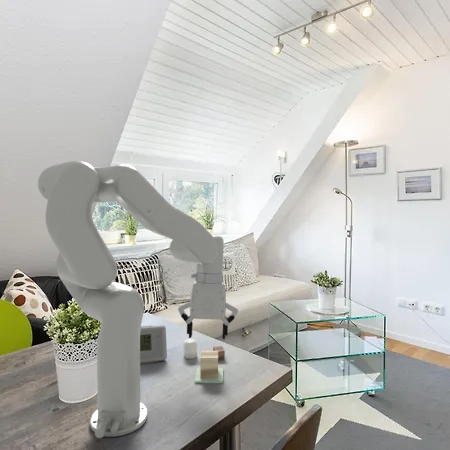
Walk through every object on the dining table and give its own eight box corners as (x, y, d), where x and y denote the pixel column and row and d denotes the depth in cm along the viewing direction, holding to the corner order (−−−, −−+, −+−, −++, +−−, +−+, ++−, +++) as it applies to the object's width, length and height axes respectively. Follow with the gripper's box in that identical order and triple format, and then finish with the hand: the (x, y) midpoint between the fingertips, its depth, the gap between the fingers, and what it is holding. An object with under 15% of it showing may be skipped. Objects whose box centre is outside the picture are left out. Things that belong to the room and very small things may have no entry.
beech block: (217, 378, 98) (218, 357, 98) (200, 378, 98) (200, 357, 98) (218, 370, 103) (218, 350, 103) (201, 370, 103) (201, 350, 103)
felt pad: (223, 383, 97) (223, 381, 97) (194, 383, 97) (194, 381, 97) (223, 369, 105) (223, 368, 105) (197, 369, 105) (197, 367, 105)
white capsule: (196, 358, 113) (196, 343, 112) (183, 358, 113) (182, 343, 112) (197, 353, 117) (197, 338, 117) (184, 353, 117) (184, 338, 117)
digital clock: (112, 367, 106) (112, 333, 106) (119, 355, 115) (118, 324, 115) (165, 366, 107) (165, 332, 107) (168, 353, 116) (168, 323, 116)
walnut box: (224, 359, 112) (224, 350, 112) (215, 360, 112) (215, 351, 111) (221, 354, 116) (221, 346, 116) (213, 355, 115) (213, 346, 115)
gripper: (177, 279, 96) (175, 340, 96) (239, 281, 96) (237, 342, 96) (181, 275, 103) (178, 331, 103) (238, 277, 103) (236, 334, 103)
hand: (207, 337), depth 99 cm, fingers open, 9 cm apart
